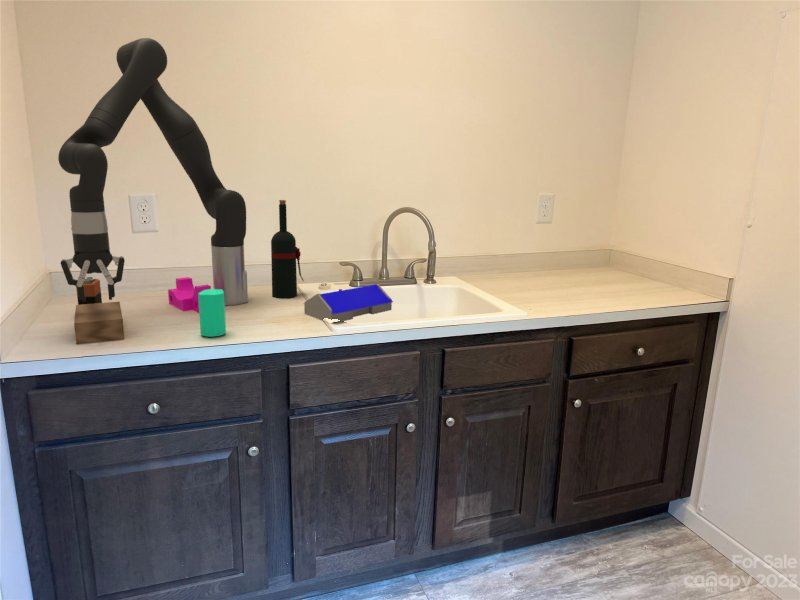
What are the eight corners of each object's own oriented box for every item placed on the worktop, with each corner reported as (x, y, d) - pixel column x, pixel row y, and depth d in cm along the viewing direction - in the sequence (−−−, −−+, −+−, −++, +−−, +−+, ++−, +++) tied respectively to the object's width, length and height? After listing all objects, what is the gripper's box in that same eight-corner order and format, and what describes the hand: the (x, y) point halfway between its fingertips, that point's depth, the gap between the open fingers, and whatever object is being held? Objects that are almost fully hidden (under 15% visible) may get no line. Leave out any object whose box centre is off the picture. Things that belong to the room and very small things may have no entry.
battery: (78, 317, 154) (74, 281, 152) (86, 311, 160) (82, 275, 158) (96, 317, 155) (93, 280, 153) (103, 310, 161) (99, 275, 159)
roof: (362, 302, 179) (362, 279, 178) (393, 312, 170) (393, 287, 168) (303, 314, 164) (302, 289, 163) (333, 325, 155) (333, 298, 153)
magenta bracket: (168, 304, 171) (167, 279, 169) (189, 301, 175) (188, 277, 173) (190, 315, 160) (188, 288, 158) (212, 311, 164) (210, 285, 162)
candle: (217, 328, 148) (214, 282, 145) (230, 332, 145) (228, 285, 142) (195, 333, 144) (192, 285, 141) (209, 338, 140) (206, 289, 137)
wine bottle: (307, 297, 182) (306, 201, 175) (275, 300, 178) (272, 201, 171) (300, 292, 189) (299, 199, 182) (269, 294, 185) (266, 199, 177)
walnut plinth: (121, 319, 153) (119, 301, 152) (124, 339, 138) (122, 318, 136) (78, 323, 149) (76, 304, 147) (76, 344, 133) (74, 323, 132)
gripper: (122, 227, 144) (128, 294, 148) (55, 229, 137) (64, 299, 141) (124, 231, 137) (130, 301, 141) (54, 233, 131) (62, 306, 135)
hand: (97, 299), depth 141 cm, fingers open, 5 cm apart
